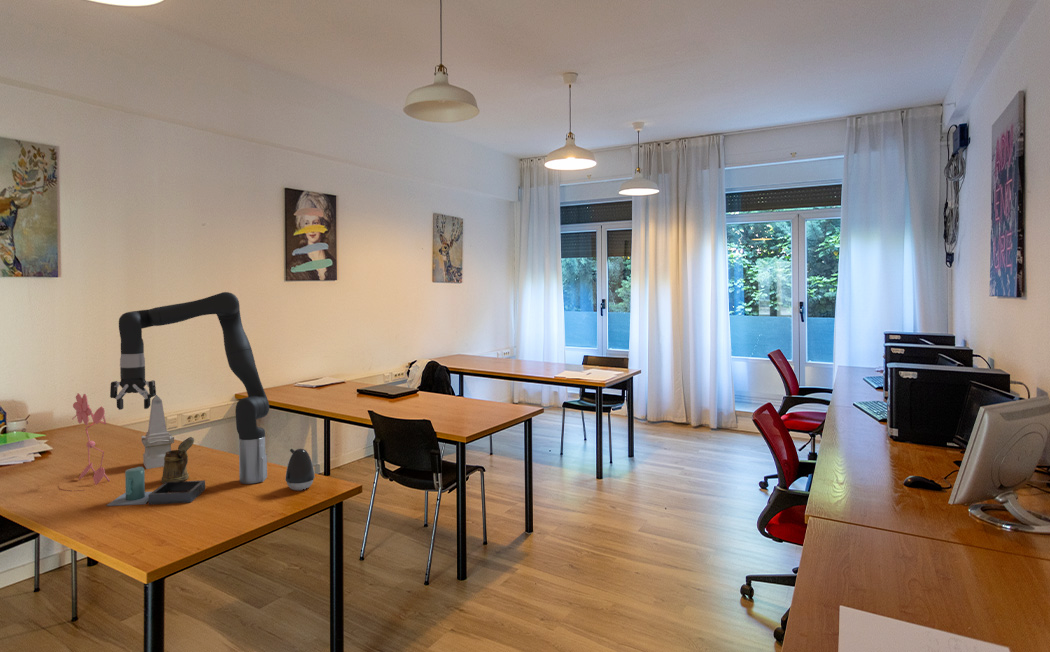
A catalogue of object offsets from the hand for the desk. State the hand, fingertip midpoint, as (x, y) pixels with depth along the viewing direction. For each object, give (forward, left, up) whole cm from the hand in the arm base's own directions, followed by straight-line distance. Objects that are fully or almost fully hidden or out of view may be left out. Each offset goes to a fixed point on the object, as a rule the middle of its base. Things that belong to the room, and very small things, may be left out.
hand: (133, 408), depth 208 cm
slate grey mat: (-5, +12, -30) cm, 33 cm away
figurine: (+22, -9, -30) cm, 39 cm away
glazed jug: (-5, +12, -30) cm, 32 cm away
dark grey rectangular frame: (-19, +12, -30) cm, 37 cm away
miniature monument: (+5, -31, -30) cm, 44 cm away
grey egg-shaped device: (-60, +9, -30) cm, 68 cm away
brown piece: (-12, -7, -30) cm, 33 cm away
